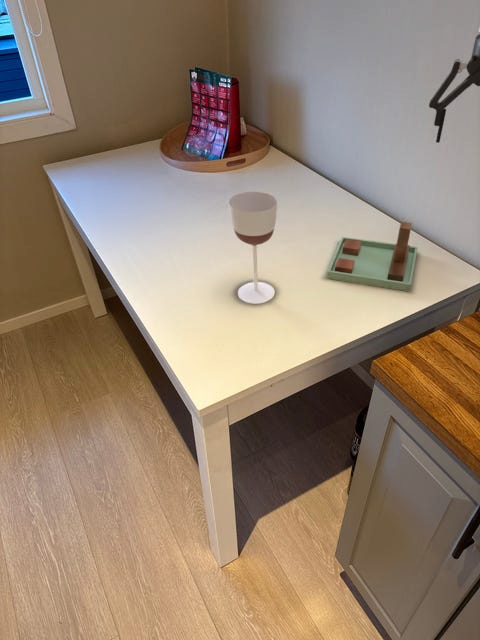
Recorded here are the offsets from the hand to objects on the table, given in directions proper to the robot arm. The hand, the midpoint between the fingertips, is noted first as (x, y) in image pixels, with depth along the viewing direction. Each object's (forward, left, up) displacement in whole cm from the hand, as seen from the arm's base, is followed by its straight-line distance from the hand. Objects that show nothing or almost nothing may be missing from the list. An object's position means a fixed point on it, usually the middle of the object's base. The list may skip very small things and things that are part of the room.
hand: (470, 142), depth 108 cm
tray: (+16, +14, -27) cm, 34 cm away
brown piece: (+10, +14, -26) cm, 31 cm away
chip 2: (+22, +19, -26) cm, 39 cm away
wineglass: (+40, +33, -27) cm, 58 cm away
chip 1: (+22, +9, -26) cm, 36 cm away
